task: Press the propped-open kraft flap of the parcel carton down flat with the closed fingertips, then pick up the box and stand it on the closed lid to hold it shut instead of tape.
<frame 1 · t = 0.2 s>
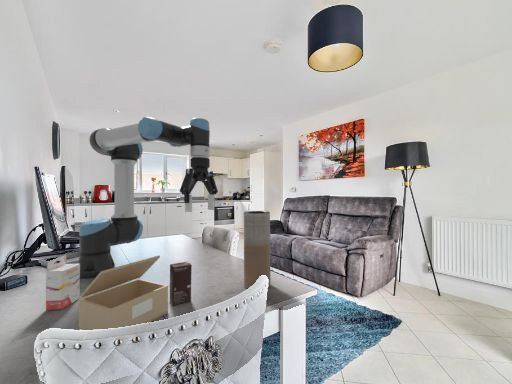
hand: (200, 210, 98), 28 cm above the table, fingers open, 13 cm apart
carton: (126, 321, 66), on the table
ink cartridge box: (64, 304, 78), on the table
box: (180, 302, 79), on the table
burlap textured cylinder: (257, 286, 92), on the table
desk tidy frame: (71, 261, 127), on the table
lid: (123, 274, 67), point 13 cm above the table, hinge at 40.0°
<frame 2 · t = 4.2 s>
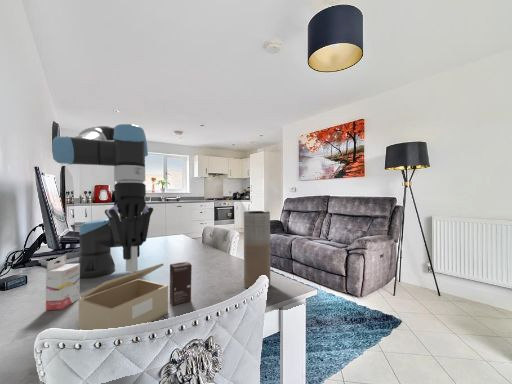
hand: (131, 270, 65), 14 cm above the table, fingers closed
lid: (125, 279, 67), point 11 cm above the table, hinge at 27.3°, touching gripper
everything else where it was.
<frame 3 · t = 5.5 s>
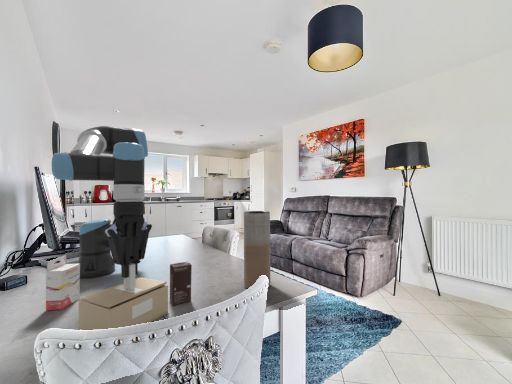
hand: (129, 288, 66), 9 cm above the table, fingers closed
lid: (127, 289, 66), point 9 cm above the table, hinge at 2.1°, touching gripper
everything else where it was.
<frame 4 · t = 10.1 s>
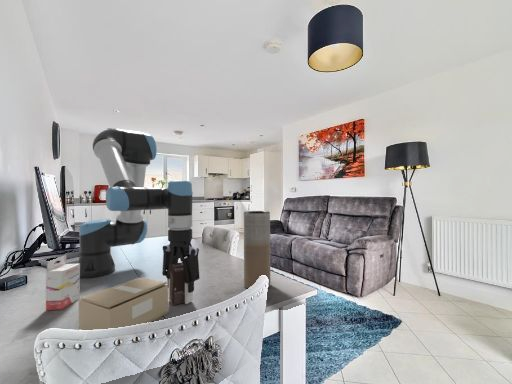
hand: (180, 299, 79), 0 cm above the table, fingers closed on box, 6 cm apart
box: (180, 302, 79), on the table, touching gripper
lid: (127, 290, 66), point 9 cm above the table, hinge at 2.0°
everything else where it was.
when the fingers open (10 cm above the table, at t = 14.2 s): box drops 1 cm, point 9 cm above the table.
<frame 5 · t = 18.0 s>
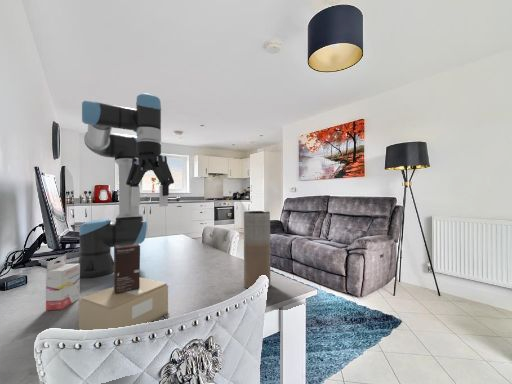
hand: (149, 206, 82), 31 cm above the table, fingers open, 13 cm apart
box: (126, 290, 66), point 9 cm above the table
lid: (127, 290, 66), point 8 cm above the table, hinge at 0.0°, touching carton
everything else where it was.
at the end: lid at +0° (first picture: +40°); box inside the target area on the carton (0.2 cm from its centre), point 8.5 cm above the carton's base; box tilted 0° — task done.
